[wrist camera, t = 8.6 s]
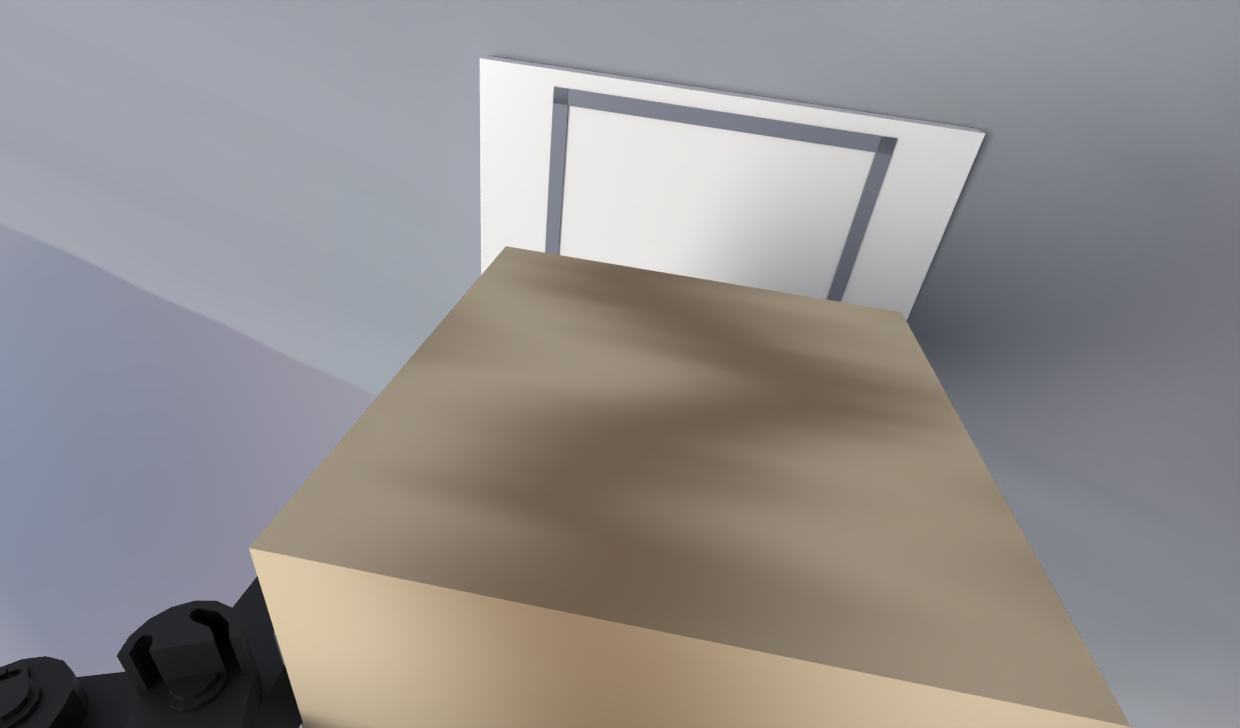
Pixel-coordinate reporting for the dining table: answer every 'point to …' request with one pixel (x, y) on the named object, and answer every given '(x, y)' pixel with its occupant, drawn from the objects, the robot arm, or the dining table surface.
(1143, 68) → the dining table surface
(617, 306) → the wooden plinth
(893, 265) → the white flat piece
